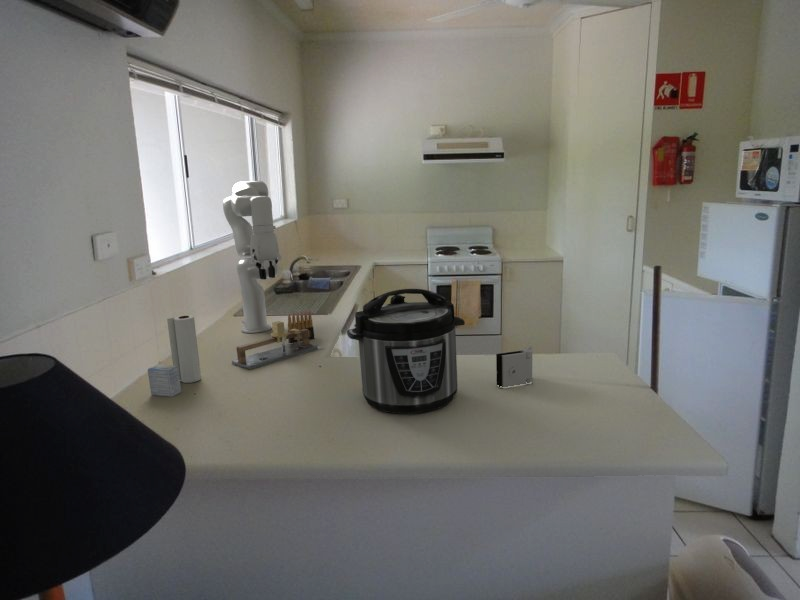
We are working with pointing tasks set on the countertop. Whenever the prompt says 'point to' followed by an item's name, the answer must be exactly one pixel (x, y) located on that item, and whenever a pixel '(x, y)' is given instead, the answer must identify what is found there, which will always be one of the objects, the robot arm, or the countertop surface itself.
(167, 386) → the pale blue-grey upright block
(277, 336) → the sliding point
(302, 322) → the ammunition clip
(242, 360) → the bar
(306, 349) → the bolt-hole plate
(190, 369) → the paper towel roll
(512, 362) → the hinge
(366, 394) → the pressure cooker
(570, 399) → the countertop surface
